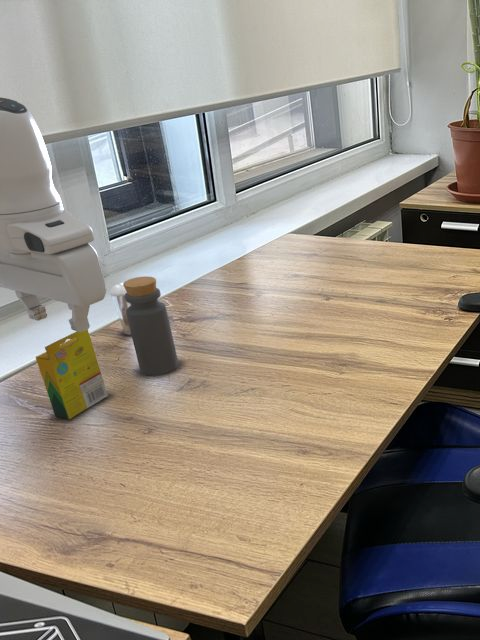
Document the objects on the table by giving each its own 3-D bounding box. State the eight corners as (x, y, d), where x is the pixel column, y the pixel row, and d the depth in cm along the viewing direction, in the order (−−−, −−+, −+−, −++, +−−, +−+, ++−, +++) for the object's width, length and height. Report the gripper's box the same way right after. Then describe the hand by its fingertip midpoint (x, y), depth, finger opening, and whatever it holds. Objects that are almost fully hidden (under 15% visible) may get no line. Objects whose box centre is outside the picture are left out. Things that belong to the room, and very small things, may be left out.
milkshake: (133, 339, 126) (120, 286, 121) (115, 333, 128) (101, 281, 124) (155, 330, 129) (143, 278, 125) (137, 324, 132) (125, 273, 127)
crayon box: (94, 393, 108) (74, 323, 103) (109, 396, 107) (90, 326, 102) (53, 417, 102) (30, 344, 97) (68, 420, 101) (46, 346, 96)
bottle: (184, 367, 115) (166, 280, 109) (149, 379, 112) (127, 290, 105) (169, 356, 119) (150, 272, 113) (134, 368, 115) (112, 281, 109)
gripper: (-40, 225, 95) (-7, 320, 101) (54, 243, 86) (85, 346, 92) (6, 213, 100) (36, 304, 106) (100, 229, 91) (126, 327, 97)
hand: (59, 324), depth 99 cm, fingers open, 8 cm apart
